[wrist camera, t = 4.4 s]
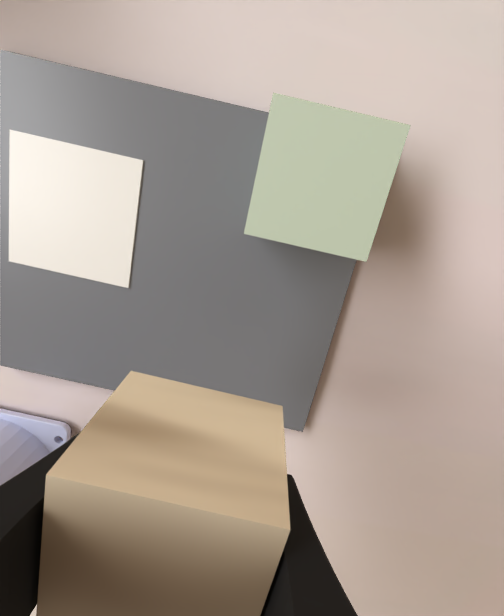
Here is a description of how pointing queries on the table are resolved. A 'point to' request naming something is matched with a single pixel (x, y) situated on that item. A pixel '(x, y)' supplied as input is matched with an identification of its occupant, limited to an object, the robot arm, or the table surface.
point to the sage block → (323, 177)
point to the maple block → (166, 506)
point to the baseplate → (149, 243)
